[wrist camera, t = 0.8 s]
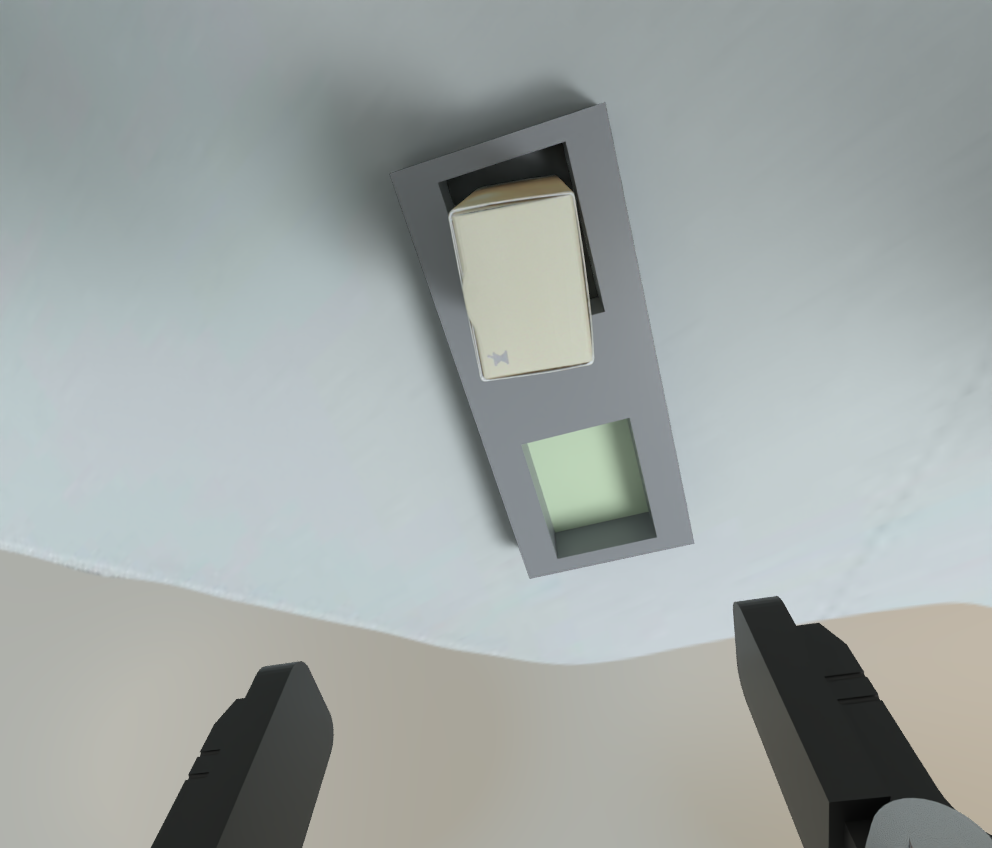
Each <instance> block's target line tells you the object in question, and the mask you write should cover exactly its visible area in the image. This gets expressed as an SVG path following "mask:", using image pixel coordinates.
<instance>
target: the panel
mask: <svg viewBox="0 0 992 848" xmlns="http://www.w3.org/2000/svg"><path fill="white" fill-rule="evenodd" d="M559 143H563V148H564V152H565V156H566V161H567V165H568V169H569V173H570V178H571V182H572V186H573V191H574V195H575V199H576V203H577V208H578V212H579V216H580V221H581V225H582V229H583V233H584V238H585V242H586V246H587V251H588V255H589V259H590V263H591V268H592V272H593V276H594V281H595V285H596V289H597V293H598V297H596V298H592V299H590V308H591V317H592V328H593V343H594V362H593V364H591V365H588V366H582V367H576V368H572V369H567V370H562V371H556V372H549V373H543V374H536V375H529V376H523V377H514V378H508V379H499V380H492V381H482V380H481V378H480V374H479V368H478V363H477V359H476V355H475V349H474V345H473V340H472V335H471V330H470V325H469V321H468V316H467V311H466V306H465V302H464V297H463V292H462V287H461V281H460V276H459V272H458V266H457V261H456V256H455V251H454V246H453V240H452V235H451V229H450V224H449V220H448V216H449V213H450V211H451V210H452V209H453V208H454V205H453V202H452V199H451V195H450V192H449V189H448V186H447V183H446V180H448V179H451V178H454V177H457V176H460V175H463V174H466V173H469V172H473V171H476V170H479V169H482V168H485V167H488V166H491V165H494V164H497V163H500V162H503V161H506V160H510V159H513V158H516V157H519V156H522V155H525V154H528V153H531V152H534V151H537V150H540V149H543V148H547V147H550V146H553V145H556V144H559ZM390 177H391V180H392V183H393V186H394V189H395V191H396V194H397V197H398V200H399V203H400V206H401V209H402V212H403V215H404V217H405V220H406V223H407V226H408V229H409V232H410V235H411V238H412V241H413V243H414V246H415V249H416V252H417V255H418V258H419V261H420V264H421V267H422V269H423V272H424V275H425V278H426V281H427V284H428V287H429V290H430V293H431V295H432V298H433V301H434V304H435V307H436V310H437V313H438V316H439V319H440V321H441V324H442V327H443V330H444V333H445V336H446V339H447V342H448V344H449V347H450V350H451V353H452V356H453V359H454V362H455V365H456V368H457V370H458V373H459V376H460V379H461V382H462V385H463V388H464V391H465V394H466V396H467V399H468V402H469V405H470V408H471V411H472V414H473V417H474V420H475V422H476V425H477V428H478V431H479V434H480V437H481V440H482V443H483V446H484V448H485V451H486V454H487V457H488V460H489V463H490V466H491V469H492V472H493V474H494V477H495V480H496V483H497V486H498V489H499V492H500V495H501V498H502V500H503V503H504V506H505V509H506V512H507V515H508V518H509V521H510V524H511V526H512V529H513V532H514V535H515V538H516V541H517V544H518V547H519V550H520V552H521V555H522V558H523V561H524V564H525V567H526V570H527V573H528V576H529V578H530V579H531V578H536V577H540V576H545V575H550V574H554V573H559V572H564V571H568V570H573V569H578V568H582V567H587V566H592V565H596V564H601V563H606V562H610V561H615V560H620V559H624V558H629V557H634V556H638V555H643V554H648V553H652V552H657V551H662V550H666V549H671V548H676V547H680V546H685V545H690V544H694V539H693V534H692V529H691V524H690V519H689V514H688V509H687V504H686V499H685V495H684V490H683V485H682V480H681V475H680V470H679V465H678V460H677V455H676V450H675V445H674V440H673V435H672V430H671V425H670V420H669V415H668V410H667V405H666V400H665V395H664V390H663V386H662V381H661V376H660V371H659V366H658V361H657V356H656V351H655V346H654V341H653V336H652V331H651V326H650V321H649V316H648V311H647V306H646V301H645V296H644V291H643V286H642V281H641V277H640V272H639V267H638V262H637V257H636V252H635V247H634V242H633V237H632V232H631V227H630V222H629V217H628V212H627V207H626V202H625V197H624V192H623V187H622V182H621V177H620V172H619V167H618V163H617V158H616V153H615V148H614V143H613V138H612V133H611V128H610V123H609V118H608V113H607V108H606V103H605V102H604V103H601V104H598V105H595V106H592V107H589V108H586V109H583V110H580V111H577V112H574V113H571V114H568V115H565V116H562V117H559V118H556V119H553V120H550V121H547V122H544V123H541V124H538V125H534V126H531V127H528V128H525V129H522V130H519V131H516V132H513V133H510V134H507V135H504V136H501V137H498V138H495V139H492V140H489V141H486V142H483V143H480V144H477V145H474V146H471V147H468V148H465V149H462V150H459V151H456V152H453V153H450V154H447V155H444V156H441V157H438V158H435V159H432V160H429V161H426V162H423V163H420V164H417V165H414V166H411V167H408V168H405V169H402V170H399V171H396V172H393V173H390Z"/></svg>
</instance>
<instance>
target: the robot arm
mask: <svg viewBox="0 0 992 848" xmlns="http://www.w3.org/2000/svg"><path fill="white" fill-rule="evenodd" d="M733 616H734V629H735V643H736V655H737V666H738V673H739V678H740V682H741V686H742V690H743V693H744V696H745V699H746V702H747V705H748V707H749V710H750V712H751V715H752V718H753V720H754V723H755V725H756V727H757V730H758V733H759V735H760V738H761V740H762V743H763V745H764V748H765V750H766V753H767V756H768V758H769V760H770V763H771V766H772V768H773V771H774V773H775V776H776V778H777V781H778V783H779V786H780V788H781V791H782V794H783V796H784V799H785V801H786V804H787V806H788V809H789V811H790V814H791V816H792V819H793V821H794V824H795V827H796V829H797V832H798V834H799V837H800V839H801V841H802V844H803V847H804V848H992V835H990V834H988V833H986V832H985V831H984V830H983V829H982V828H980V827H979V826H978V825H977V824H976V823H974V822H973V821H972V820H971V819H969V818H968V817H966V816H965V815H963V814H961V813H960V812H958V811H956V810H955V809H954V808H953V807H952V806H951V805H950V804H949V803H948V801H947V800H946V799H945V798H944V797H943V795H942V794H941V793H940V791H939V790H938V788H937V787H936V785H935V784H934V782H933V781H932V779H931V777H930V776H929V774H928V772H927V771H926V769H925V768H924V766H923V765H922V763H921V762H920V760H919V758H918V757H917V755H916V754H915V752H914V750H913V749H912V747H911V746H910V744H909V742H908V741H907V739H906V738H905V736H904V735H903V733H902V731H901V730H900V728H899V727H898V725H897V723H896V722H895V720H894V719H893V717H892V715H891V714H890V712H889V711H888V709H887V708H886V706H885V705H884V703H883V701H882V700H880V699H879V697H878V693H877V692H876V690H875V689H874V687H873V685H872V684H871V682H870V681H869V679H868V678H867V677H865V675H864V671H863V670H862V668H861V667H860V665H859V663H858V662H857V660H856V659H855V657H854V655H853V654H852V652H851V651H850V649H849V647H848V646H847V644H845V643H844V642H843V641H842V640H840V639H839V638H838V637H836V636H835V635H834V634H832V633H831V632H830V631H829V630H827V629H826V628H825V627H824V626H822V625H821V624H820V623H814V624H806V625H799V626H796V625H795V623H794V621H793V619H792V617H791V616H790V614H789V612H788V610H787V608H786V607H785V605H784V603H783V601H782V600H781V599H780V598H779V597H778V596H774V597H767V598H760V599H753V600H746V601H738V602H734V604H733ZM332 745H333V723H332V718H331V715H330V713H329V710H328V708H327V706H326V704H325V702H324V700H323V697H322V695H321V693H320V691H319V689H318V687H317V685H316V683H315V680H314V678H313V676H312V674H311V672H310V670H309V668H308V666H307V665H306V664H305V663H304V662H302V661H300V662H293V663H286V664H279V665H272V666H265V667H262V668H261V669H260V670H259V671H258V673H257V675H256V676H255V678H254V681H253V683H252V685H251V687H250V689H249V691H248V693H247V695H246V697H245V698H242V699H236V700H235V702H234V703H233V704H232V705H231V706H230V707H229V708H228V710H226V712H225V713H224V714H223V715H222V716H221V717H220V718H219V719H218V721H217V722H216V723H215V724H214V726H213V728H212V730H211V732H210V734H209V736H208V737H207V740H206V741H205V743H204V745H203V747H202V749H201V751H200V752H201V755H200V757H197V759H196V761H195V763H194V765H193V767H192V769H191V771H190V772H189V779H188V780H186V781H185V782H184V784H183V786H182V788H181V790H180V792H179V794H178V796H177V798H176V800H175V802H174V804H173V806H172V808H171V810H170V812H169V813H168V816H167V817H166V819H165V821H164V823H163V825H162V827H161V829H160V831H159V833H158V835H157V837H156V839H155V841H154V843H153V845H152V847H151V848H302V846H303V843H304V840H305V836H306V833H307V830H308V827H309V823H310V820H311V817H312V813H313V810H314V807H315V803H316V800H317V797H318V794H319V790H320V787H321V784H322V780H323V777H324V774H325V770H326V767H327V764H328V761H329V757H330V754H331V750H332Z"/></svg>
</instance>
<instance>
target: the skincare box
mask: <svg viewBox="0 0 992 848" xmlns="http://www.w3.org/2000/svg"><path fill="white" fill-rule="evenodd" d="M448 220H449V224H450V229H451V235H452V240H453V246H454V251H455V256H456V261H457V266H458V272H459V276H460V281H461V287H462V292H463V297H464V302H465V306H466V311H467V316H468V321H469V325H470V330H471V335H472V340H473V345H474V349H475V355H476V359H477V363H478V368H479V374H480V378H481V380H482V381H492V380H499V379H508V378H514V377H523V376H529V375H536V374H543V373H549V372H556V371H562V370H567V369H572V368H576V367H582V366H588V365H591V364H593V362H594V343H593V328H592V317H591V308H590V298H589V290H588V282H587V275H586V267H585V259H584V252H583V246H582V239H581V232H580V226H579V220H578V214H577V207H576V201H575V195H574V193H573V192H572V191H571V190H570V189H569V188H568V187H567V186H566V185H565V183H564V182H563V181H562V180H561V179H560V178H559V177H558V176H557V175H549V176H542V177H536V178H529V179H523V180H517V181H511V182H505V183H500V184H495V185H489V186H484V187H480V188H478V189H476V190H475V191H474V192H473V193H471V194H470V195H469V196H468V197H467V198H466V199H464V200H463V201H462V202H461V203H460V204H458V205H457V206H456V207H455V208H453V209H452V210H451V211H450V213H449V216H448Z"/></svg>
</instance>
